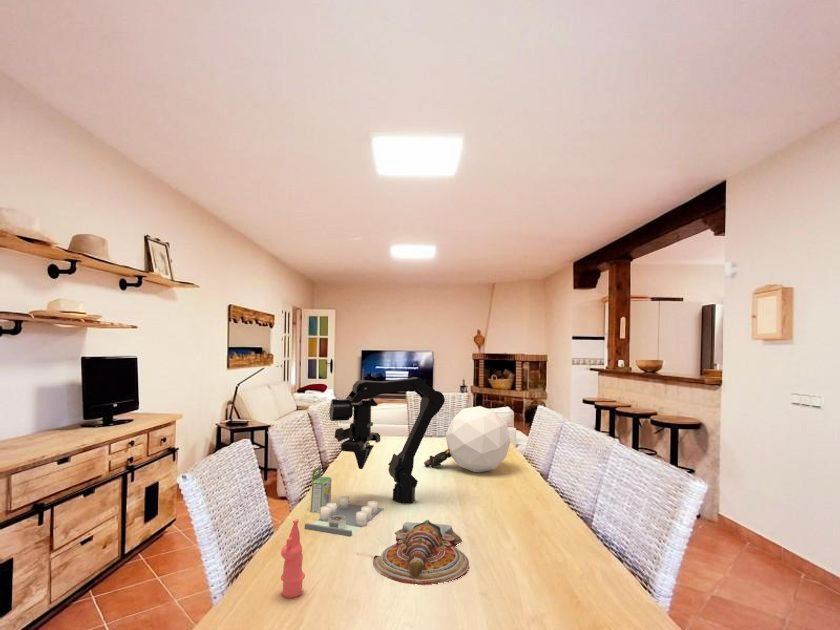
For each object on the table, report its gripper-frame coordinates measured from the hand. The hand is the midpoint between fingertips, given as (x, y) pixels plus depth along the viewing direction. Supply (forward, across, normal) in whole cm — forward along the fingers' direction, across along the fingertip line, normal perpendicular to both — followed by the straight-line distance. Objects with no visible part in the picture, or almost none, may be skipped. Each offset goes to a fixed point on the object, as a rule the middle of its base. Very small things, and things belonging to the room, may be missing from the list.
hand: (360, 468), depth 155 cm
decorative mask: (+13, +27, +29) cm, 41 cm away
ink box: (+12, +8, -10) cm, 18 cm away
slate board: (+12, +12, +1) cm, 17 cm away
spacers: (+11, +10, +1) cm, 15 cm away
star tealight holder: (+11, +20, +2) cm, 23 cm away
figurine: (+12, +54, +8) cm, 56 cm away
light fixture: (+13, -62, +23) cm, 67 cm away
